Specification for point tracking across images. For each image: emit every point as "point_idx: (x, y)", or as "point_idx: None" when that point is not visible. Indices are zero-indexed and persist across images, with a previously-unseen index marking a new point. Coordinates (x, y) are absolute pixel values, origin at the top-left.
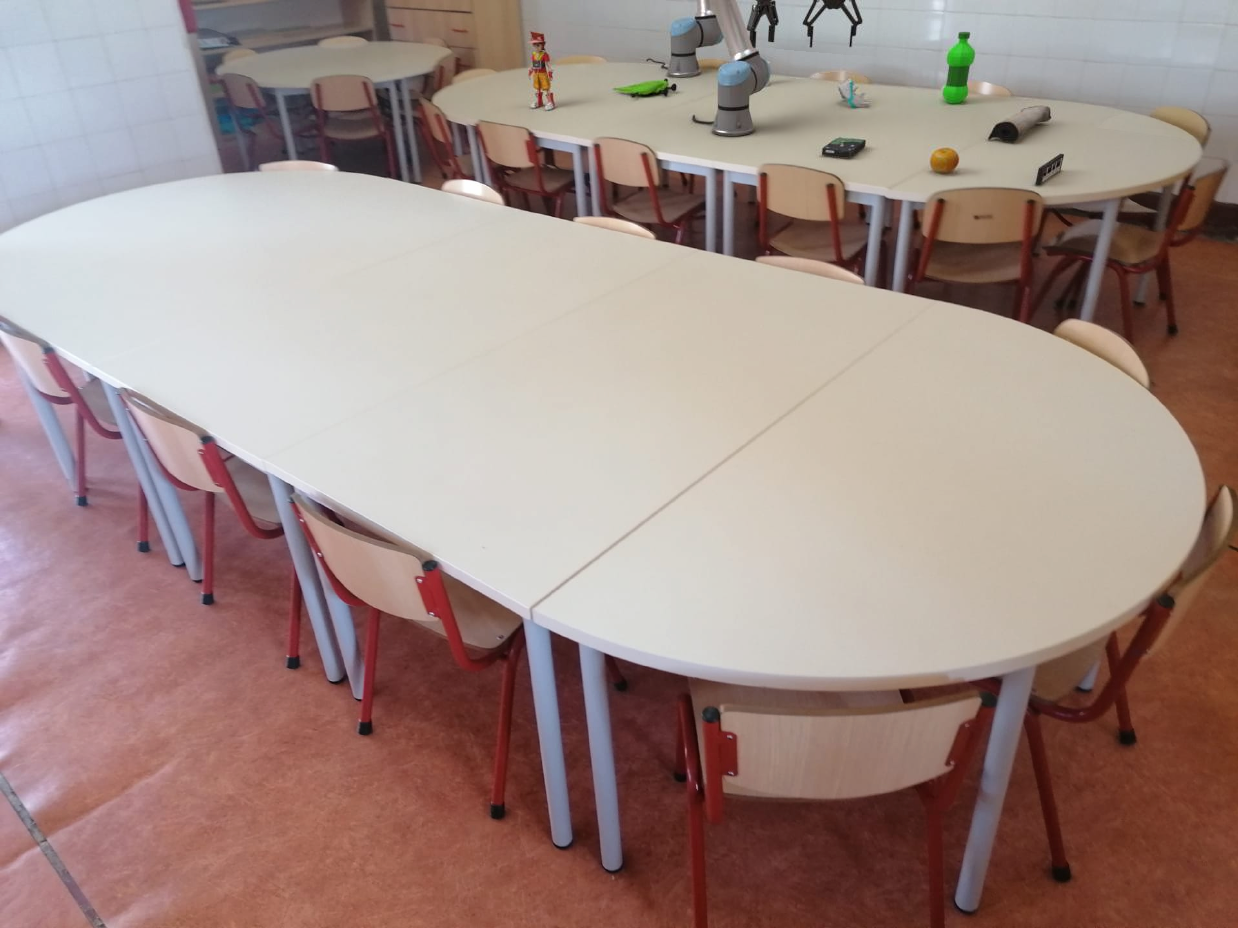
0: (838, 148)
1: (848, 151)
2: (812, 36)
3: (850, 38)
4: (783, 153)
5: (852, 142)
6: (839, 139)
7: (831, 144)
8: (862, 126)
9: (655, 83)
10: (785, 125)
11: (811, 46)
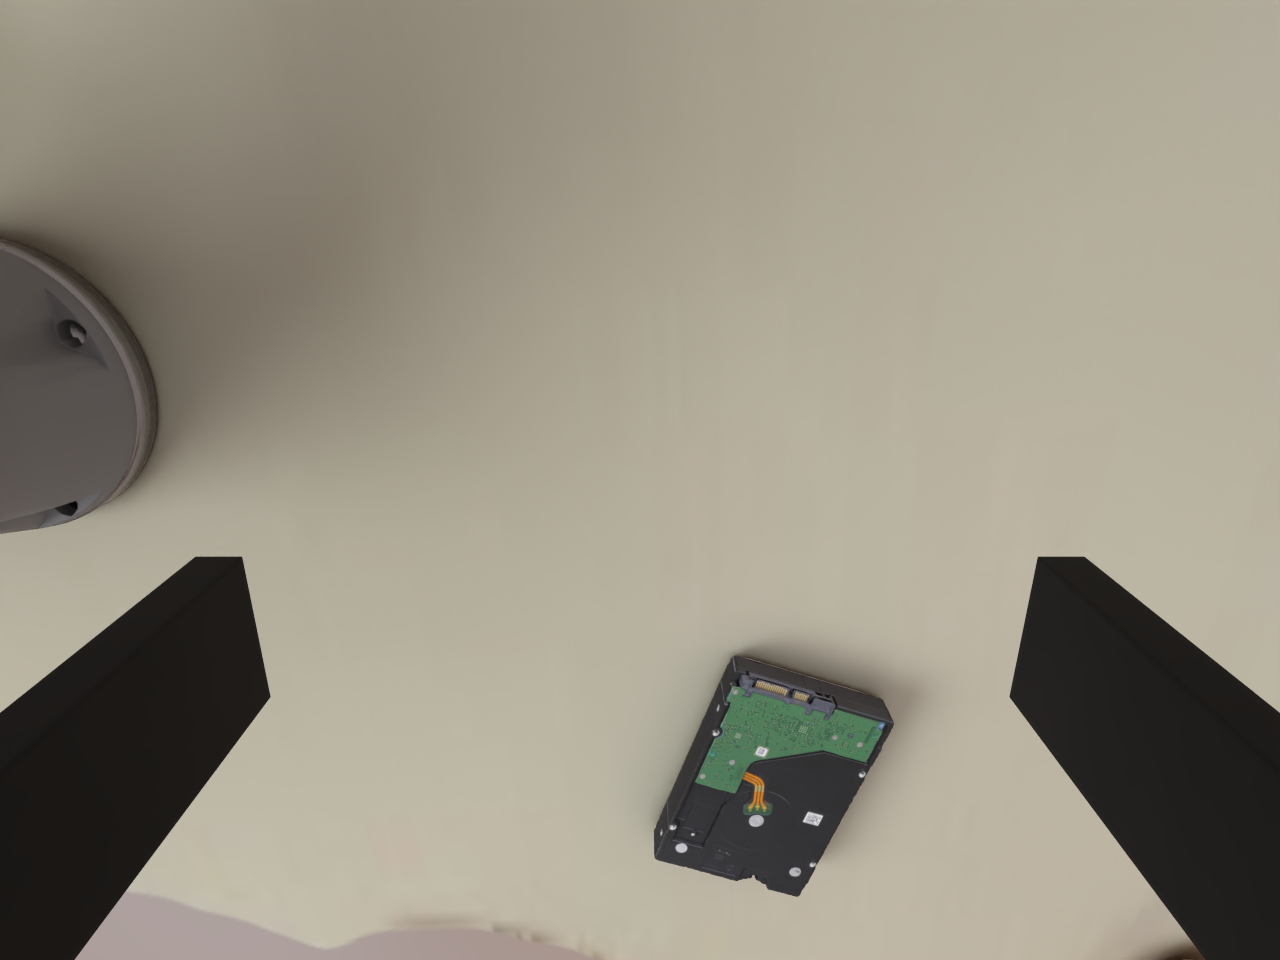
0: (738, 859)
1: (787, 893)
2: (139, 871)
3: (1116, 819)
4: (454, 786)
5: (816, 767)
6: (744, 717)
7: (700, 789)
8: (915, 201)
9: None
10: (339, 192)
11: (251, 710)
